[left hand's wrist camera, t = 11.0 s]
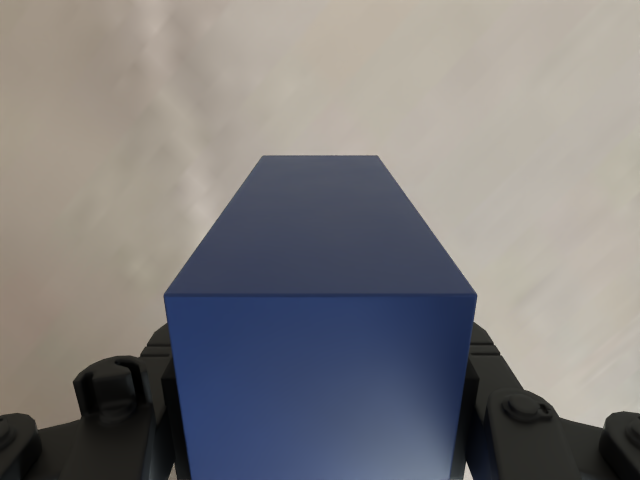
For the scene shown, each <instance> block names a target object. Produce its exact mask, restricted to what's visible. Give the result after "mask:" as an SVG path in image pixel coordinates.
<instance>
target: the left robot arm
mask: <svg viewBox="0 0 640 480" xmlns="http://www.w3.org/2000/svg"><path fill="white" fill-rule="evenodd" d="M73 385H74V389H75V392H76V396H77V400H78V404H79V408H80V412H81V416H82V417H81V419H80V420H76V421H73V422H70V423H66V424H61V425H57V426H53V427H48V428H44V429H40V430H38V429H37V426H36V423H35V420H34V419H33V418H31V417H30V416H29V415H26V414H20V413H14V414H6V415H1V416H0V480H168V477H169V475H170V472H171V470H172V467H173V464H174V463H175V469H176V475H177V480H191V477H190V470H189V463H188V456H187V450H186V443H185V436H184V430H183V423H182V416H181V410H180V403H179V396H178V390H177V383H176V376H175V369H174V363H173V356H172V349H171V343H170V336H169V329H168V323H166V324H165V325H164V326H162V327H161V328H160V329H158V330H157V331H156V332H154V334H153V336H152V337H151V339H150V340H149V342H148V343H147V347H145V348H144V350H143V351H142V353H141V354H140V357H138V358H137V357H133V356H115V357H111V358H106V359H103V360H101V361H98V362H96V363H94V364H92V365H90V366H88V367H87V368H86V369H84V370H83V371H82V372H80V373H79V374H78V376H77V377H76V378H75V380H74V381H73ZM466 461H467V464H468V467H469V469H470V472H471V475H472V477H473V480H640V414H639V413H632V412H625V411H623V412H617V413H612V414H611V415H610V416H609V417H607V418H606V420H605V424H604V427H603V428H599V427H595V426H591V425H586V424H582V423H578V422H573V421H570V420H566V419H563V418H560V417H559V416H558V414H557V413H556V411H555V410H554V408H553V406H551V405H550V404H549V403H548V402H547V401H545V400H544V399H543V398H542V397H540V396H538V395H536V394H534V393H532V392H530V391H526V390H524V389H523V387H522V386H521V384H520V383H519V381H518V380H517V378H516V377H515V375H514V374H513V372H512V370H511V369H510V367H509V366H508V364H507V363H506V361H505V360H504V358H503V357H502V356H500V352H499V350H498V349H497V347H496V346H495V345H494V343H493V341H492V340H491V338H490V337H489V335H488V333H487V332H486V331H485V330H484V329H483V328H481V327H480V326H479V325H477V324H476V323H474V322H473V328H472V334H471V341H470V348H469V354H468V361H467V368H466V374H465V381H464V388H463V394H462V401H461V407H460V414H459V421H458V427H457V434H456V441H455V447H454V454H453V461H452V467H451V474H450V480H463V477H464V471H465V465H466Z"/></svg>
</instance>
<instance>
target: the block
mask: <svg viewBox="0 0 640 480" xmlns="http://www.w3.org/2000/svg"><path fill="white" fill-rule="evenodd" d="M476 301H477V294H476V292H475V291H474V289H473V288H472V287H471V285H470V284H469V282H468V281H467V280H466V278H465V277H464V275H463V274H462V273H461V271H460V270H459V268H458V267H457V266H456V264H455V263H454V262H453V260H452V259H451V257H450V256H449V255H448V253H447V252H446V250H445V249H444V248H443V246H442V245H441V243H440V242H439V241H438V239H437V238H436V236H435V235H434V234H433V232H432V231H431V229H430V228H429V227H428V225H427V224H426V222H425V221H424V220H423V218H422V217H421V215H420V214H419V213H418V211H417V210H416V209H415V207H414V206H413V204H412V203H411V202H410V200H409V199H408V197H407V196H406V195H405V193H404V192H403V190H402V189H401V188H400V186H399V185H398V183H397V182H396V181H395V179H394V178H393V176H392V175H391V174H390V172H389V171H388V169H387V168H386V167H385V165H384V164H383V162H382V161H381V160H380V158H379V157H378V156H262V157H261V159H260V160H259V162H258V163H257V164H256V166H255V167H254V169H253V170H252V171H251V173H250V174H249V176H248V177H247V178H246V180H245V181H244V183H243V184H242V185H241V187H240V188H239V190H238V191H237V192H236V194H235V195H234V197H233V198H232V199H231V201H230V202H229V204H228V205H227V206H226V208H225V209H224V211H223V212H222V213H221V215H220V216H219V218H218V219H217V220H216V222H215V223H214V225H213V226H212V227H211V229H210V230H209V232H208V233H207V234H206V236H205V237H204V239H203V240H202V241H201V243H200V244H199V246H198V247H197V248H196V250H195V251H194V253H193V254H192V255H191V257H190V258H189V260H188V261H187V262H186V264H185V265H184V267H183V268H182V269H181V271H180V272H179V274H178V275H177V276H176V278H175V279H174V281H173V282H172V283H171V285H170V286H169V288H168V289H167V290H166V292H165V293H164V303H165V309H166V316H167V323H168V329H169V336H170V343H171V349H172V356H173V363H174V369H175V376H176V383H177V390H178V396H179V403H180V410H181V416H182V423H183V430H184V436H185V443H186V450H187V456H188V463H189V470H190V477H191V480H450V474H451V467H452V461H453V454H454V447H455V441H456V434H457V427H458V421H459V414H460V407H461V401H462V394H463V388H464V381H465V374H466V368H467V361H468V354H469V348H470V341H471V334H472V328H473V321H474V314H475V308H476Z"/></svg>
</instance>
